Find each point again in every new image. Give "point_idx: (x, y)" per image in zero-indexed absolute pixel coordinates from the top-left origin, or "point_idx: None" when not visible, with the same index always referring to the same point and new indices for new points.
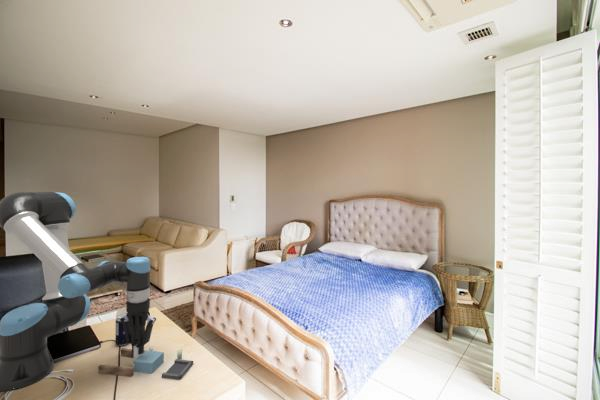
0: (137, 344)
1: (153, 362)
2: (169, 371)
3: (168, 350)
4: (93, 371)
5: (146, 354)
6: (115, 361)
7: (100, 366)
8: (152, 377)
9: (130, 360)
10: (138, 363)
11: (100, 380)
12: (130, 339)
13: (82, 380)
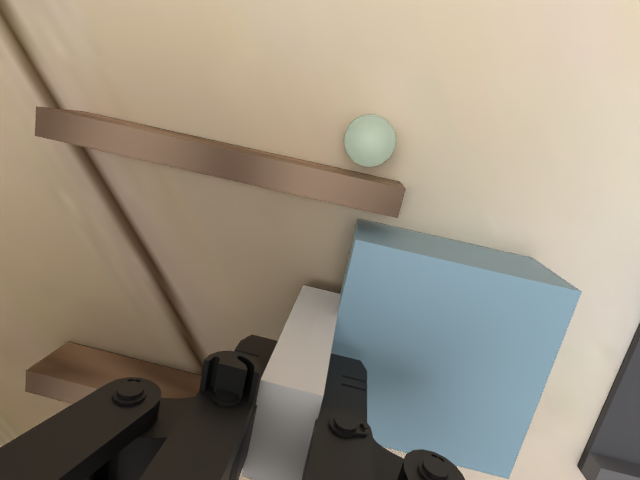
0: (269, 431)
1: (513, 453)
2: (632, 413)
3: (527, 47)
4: (20, 337)
5: (386, 322)
6: (94, 221)
7: (44, 394)
8: None
9: (212, 214)
10: None
11: None
12: (118, 475)
13: (23, 423)
